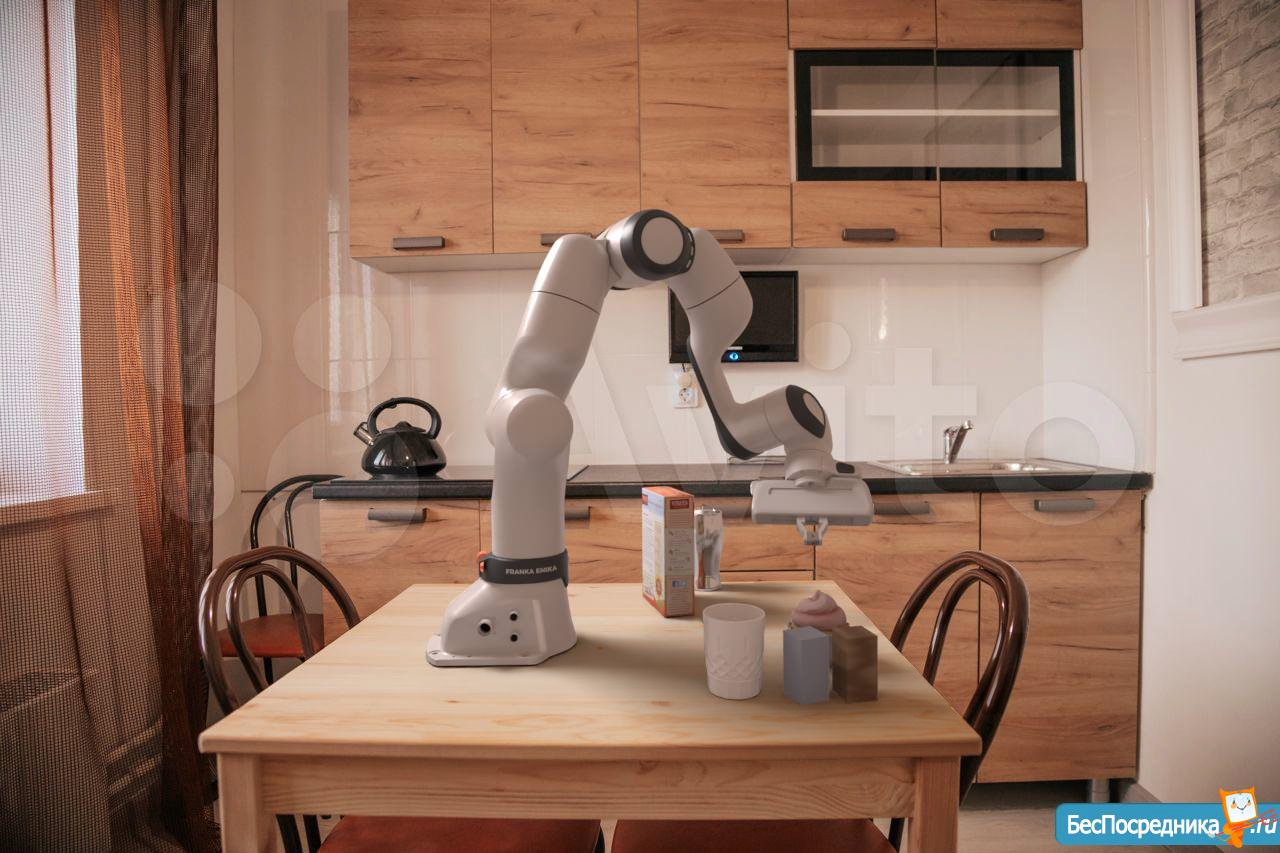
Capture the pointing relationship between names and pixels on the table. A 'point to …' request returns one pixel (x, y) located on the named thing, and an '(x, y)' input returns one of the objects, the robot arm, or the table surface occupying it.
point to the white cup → (734, 649)
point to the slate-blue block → (806, 665)
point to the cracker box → (668, 550)
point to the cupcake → (819, 616)
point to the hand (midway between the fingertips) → (812, 543)
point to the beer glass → (707, 549)
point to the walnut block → (855, 664)
